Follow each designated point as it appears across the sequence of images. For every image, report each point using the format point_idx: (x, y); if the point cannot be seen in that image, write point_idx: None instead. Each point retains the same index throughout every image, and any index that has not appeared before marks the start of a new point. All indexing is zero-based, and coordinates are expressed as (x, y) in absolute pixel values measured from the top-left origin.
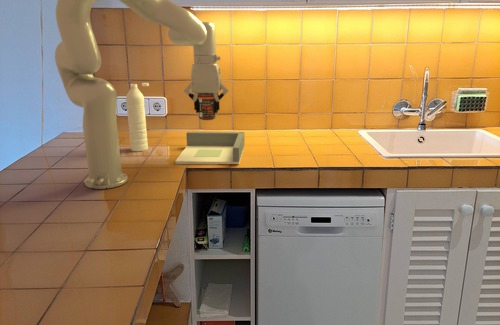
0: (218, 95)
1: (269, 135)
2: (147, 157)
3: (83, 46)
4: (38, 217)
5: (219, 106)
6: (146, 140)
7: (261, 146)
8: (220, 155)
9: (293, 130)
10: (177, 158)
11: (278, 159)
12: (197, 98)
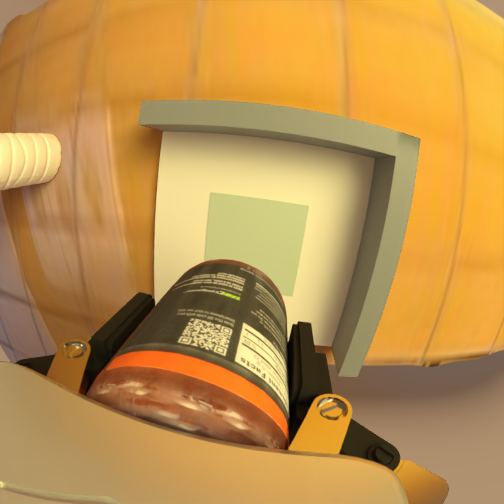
0: (333, 449)
1: (457, 29)
2: (76, 238)
3: None
4: None
5: (327, 365)
6: (41, 162)
7: (445, 148)
8: (297, 279)
9: (499, 18)
10: (155, 292)
11: (454, 301)
12: (92, 376)
